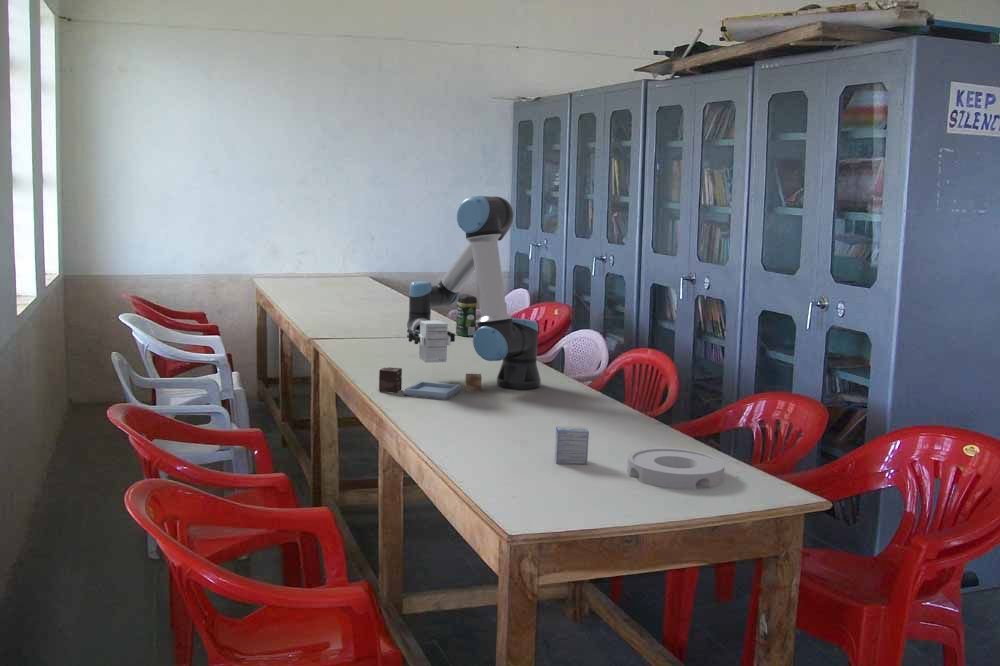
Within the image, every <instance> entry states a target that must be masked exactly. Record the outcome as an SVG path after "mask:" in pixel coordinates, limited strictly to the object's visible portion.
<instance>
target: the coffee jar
mask: <svg viewBox="0 0 1000 666" xmlns="http://www.w3.org/2000/svg"><path fill="white" fill-rule="evenodd" d="M477 305H478V302H477V297H476V296H473V295H471V294H467V293H465V294H461V293H459V299H458V301H457V302H456V325H455V327H456V328H455V335H458V336H462V337H467V336H472V337H473V336H474V334H475V332H476V331H477V330H476V329H477Z"/></svg>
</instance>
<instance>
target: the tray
mask: <svg viewBox="0 0 1000 666" xmlns="http://www.w3.org/2000/svg"><path fill="white" fill-rule="evenodd" d="M458 392H459V393H460V392H461V385H460V384H453V383H442V382H432V381H431V382H430V381H421V380H420V381H417V382H416V383H414V384H412V385H410V386H408V387H406V388H405V389H404V396H405V395H408V396H407V397H411V396H417V397H416V398H421V397H427V398H426V399H431V398H437V399H436V400H441V399H446V400H445V401H447V400H449V399H450V397H451V396H452V397H454V396H455V395H457V394H458ZM456 393H457V394H456ZM453 395H454V396H453ZM452 397H451V398H452ZM448 398H449V399H448Z"/></svg>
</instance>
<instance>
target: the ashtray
mask: <svg viewBox="0 0 1000 666" xmlns="http://www.w3.org/2000/svg"><path fill="white" fill-rule="evenodd" d="M626 467H627V468H626V472H627V474H628V476H629V477H631V478H638V482H640V483H642V484H646V485H649V486H653V487H659V488H663V489H673V490H681V491H683V490H684V491H686V490H687V491H688V490H689V491H694V490H697V488H698V487H701V488H706V489H712V488H715V487H719V486H720V485H722V484H723V483H724V479H725V478H724V477H725V462H724V461H723V460H722V459H720V458H718V457H716V456H714V455H712V454H709V453H706V452H701V451H697V450H691V449H686V448H676V447H675V448H674V447H649V448H643V449H638V450H634V451H632V452H630V453H629V454H628V455H627V466H626Z"/></svg>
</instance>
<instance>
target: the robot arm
mask: <svg viewBox="0 0 1000 666" xmlns="http://www.w3.org/2000/svg"><path fill="white" fill-rule="evenodd" d="M514 218H515V217H514V209H513V207H512V205H511V204H510V202H509V201H508V200H507V199H506V198H503V197H501V196H489V195H488V196H484V195H476V196H470V197H467V198H465V199H464V200H463V201H462V202H461V203H460V205H459V206H458V207H457V211H456V223H457V225H458V227H459V228H460V229H461V230H462V231H463V232H464V233H465V239H466V241H467V242H468V243H467V244H466V245H465V247H464V248H463V250H462V251H461V252H460V254H459V255H458V257H457V258H456V260H455V261H454V262H453V264H452V265H451V266H450V267H449V269H448V270H447V271H446V273H445V274H444V275H443V277H442V278H441V280H440V281H439V283H437V285H432V283H431V282H429V281H424V280H423V281H422V280H419V281H412V282H410V284H409V293H408V296H409V297H408V298H409V300H408V301H409V303H408V304H409V305H408V306H409V307H408V320H407V322H406V327H407V328H406V329H407V330H406V337H407V338H408V342H410V343H411V342H413V343H414V345H418V344H419V346H420V345H421V346H424V337H423V336H422V335H421V334H420V321H431V313H432V312H431V310H432V308H441V307H449V306H451V305H454V304H457V301H458V299H459V295H460V291H461V289H462V288H463V287H464V285H465V284H466V282H468V280H469V279H470V277H471V276H472V274H473V273H475V280H476V288H477V295H478V302H479V311H480V317H479V319H478V320H476V325H477V330H476V332H475V334H474V336H472V345H473V348H474V352H476V354H477V355H478V356H479V357H480V358H481V359H483V360H485V361H488V362H498V361H502V363H501V365H500V369H499V371H498V374H497V376H496V385H497V386H498V387H501V388H505V389H513V390H533V389H537V388H540V387H541V386H542V385H541V383H542V382H541V381H542V380H541V379H542V378H541V376H540V372H539V369H538V365H537V357H538V355H537V354H538V340H539V339H538V337H539V325H538V324H539V323H538V322H537V321H536V320H532V319H524V318H518V317H517V318H516V317H512V316H511V315H510V314H508V311H507V305H506V297H505V288H504V282H503V273H502V267H501V266H502V265H501V256H500V252H499V251H500V250H499V243H498V242H500V241H502V240H503V239H504V237H505V236H506V235H507V234H508V232H509V230H510V228H511V227H512V224H513V221H514ZM455 339H456V333H453V332H451V331H449V330H447V347H448V346H451V343H452V342H453V343H455V342H456V340H455Z"/></svg>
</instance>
